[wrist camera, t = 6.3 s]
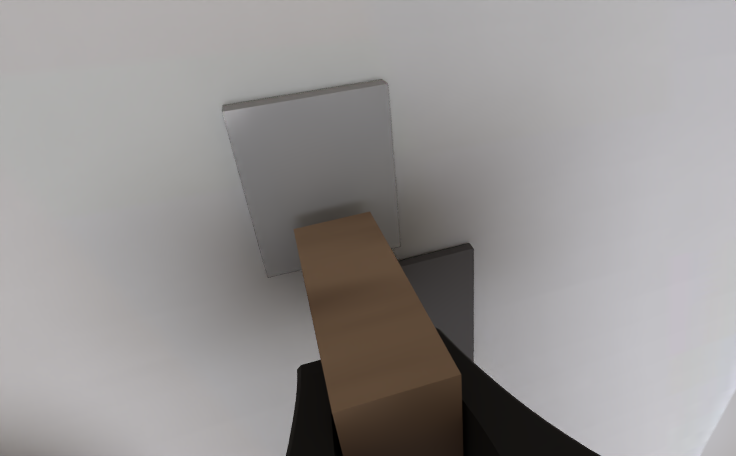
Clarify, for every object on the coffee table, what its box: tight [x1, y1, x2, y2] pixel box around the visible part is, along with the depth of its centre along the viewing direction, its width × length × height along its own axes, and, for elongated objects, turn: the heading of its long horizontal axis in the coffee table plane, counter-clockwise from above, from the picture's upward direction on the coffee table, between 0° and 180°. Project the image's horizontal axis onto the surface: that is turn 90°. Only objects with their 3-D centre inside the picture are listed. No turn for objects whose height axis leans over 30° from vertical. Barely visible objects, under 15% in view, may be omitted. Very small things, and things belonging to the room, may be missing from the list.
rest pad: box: [398, 244, 474, 361], centre depth 20 cm, size 7×4×1 cm, turn 8°
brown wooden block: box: [293, 212, 463, 456], centre depth 12 cm, size 5×2×7 cm, turn 8°
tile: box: [222, 79, 401, 278], centre depth 15 cm, size 1×5×6 cm
